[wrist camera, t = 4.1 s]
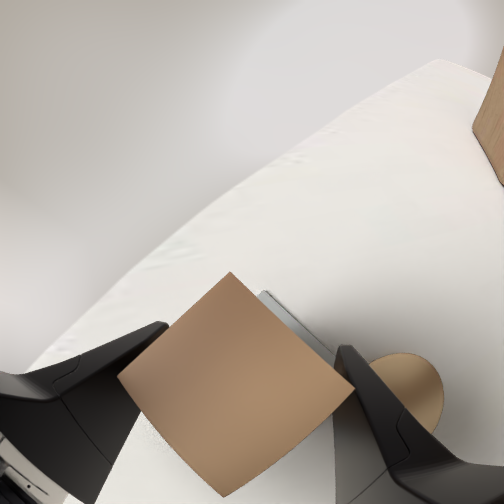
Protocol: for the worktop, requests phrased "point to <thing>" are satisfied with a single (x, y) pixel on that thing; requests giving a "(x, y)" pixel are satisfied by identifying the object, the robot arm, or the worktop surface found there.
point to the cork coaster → (413, 385)
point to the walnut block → (232, 387)
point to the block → (493, 121)
